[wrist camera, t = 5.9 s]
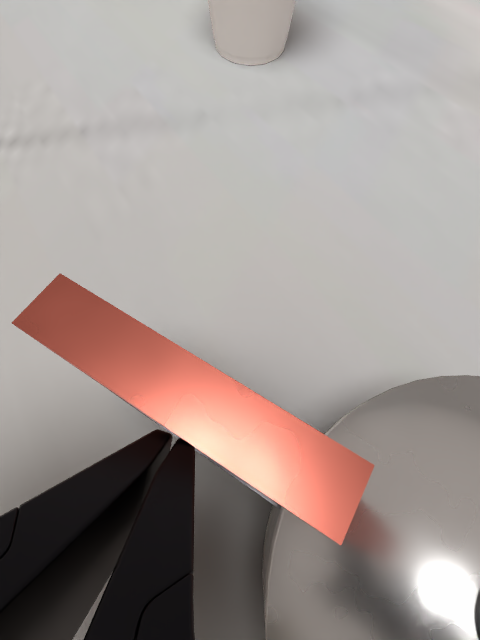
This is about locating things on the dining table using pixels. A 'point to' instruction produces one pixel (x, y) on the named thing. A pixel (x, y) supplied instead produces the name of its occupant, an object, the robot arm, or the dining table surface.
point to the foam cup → (251, 29)
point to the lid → (313, 477)
